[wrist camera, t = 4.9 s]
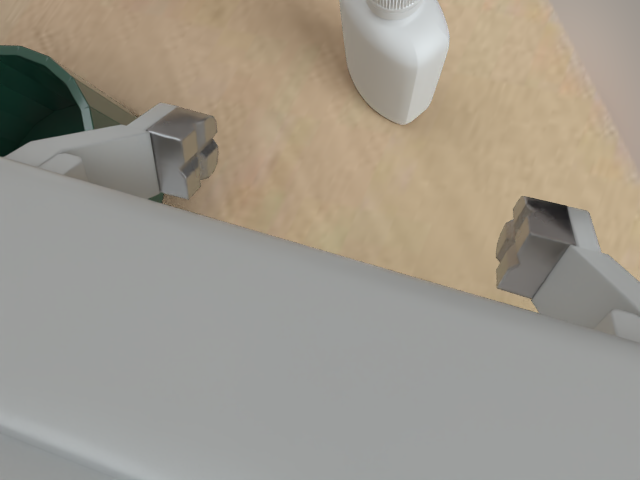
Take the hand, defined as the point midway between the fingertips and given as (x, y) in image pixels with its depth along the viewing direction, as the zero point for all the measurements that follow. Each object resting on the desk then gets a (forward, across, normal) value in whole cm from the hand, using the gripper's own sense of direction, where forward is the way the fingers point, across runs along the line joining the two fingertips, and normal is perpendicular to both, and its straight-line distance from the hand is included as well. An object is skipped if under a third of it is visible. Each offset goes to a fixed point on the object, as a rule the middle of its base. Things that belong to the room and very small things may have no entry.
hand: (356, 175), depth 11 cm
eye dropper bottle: (+16, +1, +4) cm, 17 cm away
